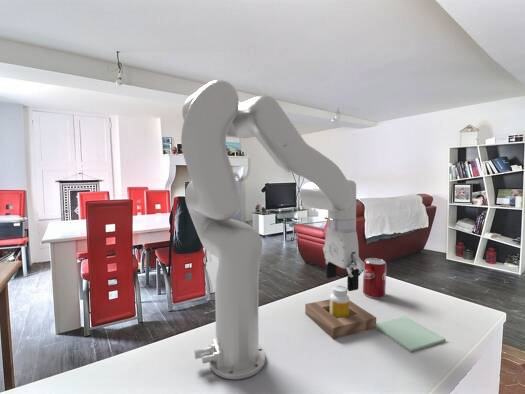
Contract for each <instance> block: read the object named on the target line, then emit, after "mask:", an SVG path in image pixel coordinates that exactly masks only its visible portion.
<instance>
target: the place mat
mask: <svg viewBox="0 0 525 394" xmlns="http://www.w3.org/2000/svg"><path fill="white" fill-rule="evenodd" d="M375 329H377V330H378V331H379V332H381V333H382V334H384V335H385V336H386V337H388V338H389V339H391V340H393V342H395V343H397V344H398V345H400V346H401V347H402V348H404V349H405V350H407V351H409V352H410V353H412V352H414V351H415V352H416V351H418V350H422V349H424V348H427V347H430V346H433V345H437V344H440V343H443V342H446V338H445V337H444V336H442V335H440V334H438V333H436V332H435V331H433V330H431V329H429V328H428V327H426V326H424V325H423V324H421V323H419V322H417V321H415V320H414V319H412V318H410V317H408V316H402V317H401V316H400V317H397V318H393V319H390V320H386V321H382V322H381V321H379V322H376V328H375Z"/></svg>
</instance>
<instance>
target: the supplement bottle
mask: <svg viewBox="0 0 525 394" xmlns="http://www.w3.org/2000/svg"><path fill="white" fill-rule="evenodd" d="M331 292H332V293H331V294H330V295H329V299H330V311H329V313H330V314H331V315H332V316H334V317H335V318H336V319H337V318H342V317H346V316H349V300H350V297H349V295H348V289H347V287H345V286H344V285H343V286H342V285H334V286H333V287H332V291H331Z"/></svg>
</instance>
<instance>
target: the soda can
mask: <svg viewBox="0 0 525 394" xmlns="http://www.w3.org/2000/svg"><path fill="white" fill-rule="evenodd" d="M363 262H364V264H365V266H364V269H363V272H362V273H363V274H362V275H363V277H362V293H363V295H364V296H365V297H367V298H370V299H383V298H384V297H386V283H387V281H386V280H387V262H386V261H385V260H383V259H381V258H376V257H375V258H374V257H369V258H365V259H364V261H363Z"/></svg>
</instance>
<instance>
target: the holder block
mask: <svg viewBox="0 0 525 394" xmlns="http://www.w3.org/2000/svg"><path fill="white" fill-rule="evenodd" d="M304 310H305V312H304V313H305V315H306V316H307V317H308V318H310V319H311V321H313V322H314V323H315V324H316V325H317V326H318V327H319V328H320V329H321V330H323V332H324V333H326V334H327V335H328V337H330V338H331V339H332V340H335V339H338V338H342V337H346V336H350V335H354V334H355V335H356V334H358V333H362V332H366V331H370V330H374V329H377V328H376V323H377V317H376V316H375V315H374V314H371V312H368V311H367V310H366V309H364V308H362V307H361V306H359V305H357V304H356V303H355V302H353V301H351V300H350V299H349V316H346V317H342V318H337V319H336V318H335V317H334V316H332V315H331V314H330V313H329V311H330V298H329V299H325V300H319V301H315V302H309V303H305V308H304Z"/></svg>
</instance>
